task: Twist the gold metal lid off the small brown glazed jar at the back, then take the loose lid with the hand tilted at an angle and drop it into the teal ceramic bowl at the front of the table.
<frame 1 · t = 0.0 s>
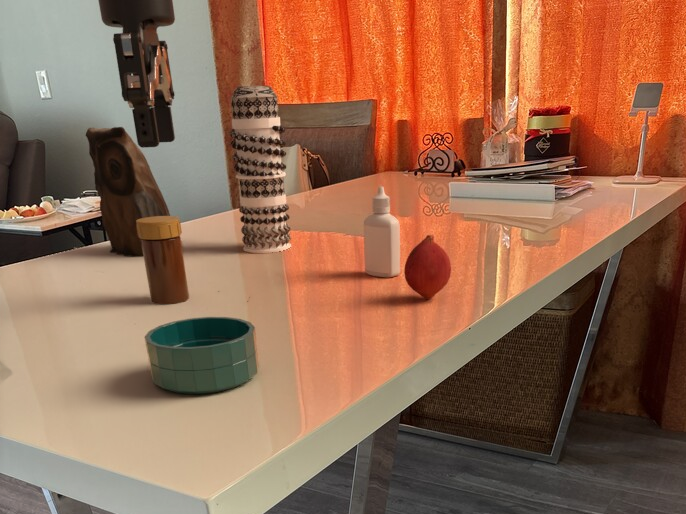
hand: (157, 144, 81), 19 cm above the table, tool pointing down, fingers open, 8 cm apart
eye dropper bottle: (382, 275, 105), on the table
bowl: (206, 377, 68), on the table
jar: (170, 299, 96), on the table
owl: (147, 250, 128), on the table
decorative candle: (267, 249, 126), on the table
onion: (427, 300, 91), on the table
lid: (158, 222, 91), point 10 cm above the table, screwed on, not yet turned
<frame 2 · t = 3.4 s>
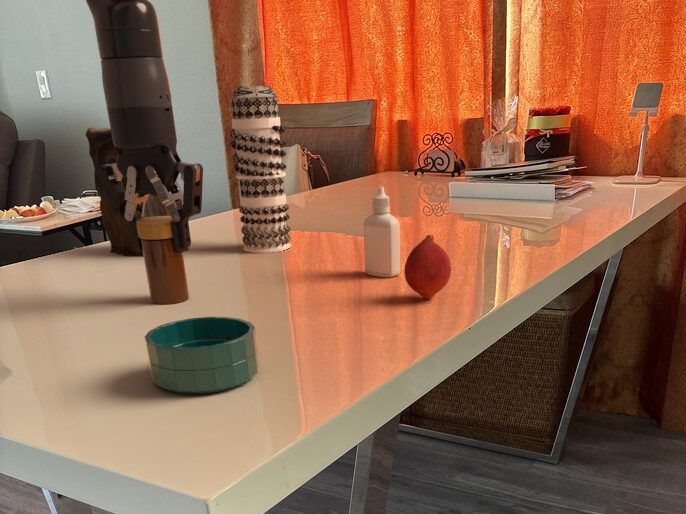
hand: (162, 250, 93), 6 cm above the table, tool pointing down, fingers closed on lid, 5 cm apart
lid: (158, 222, 91), point 10 cm above the table, screwed on, not yet turned, touching gripper
everything else where it was.
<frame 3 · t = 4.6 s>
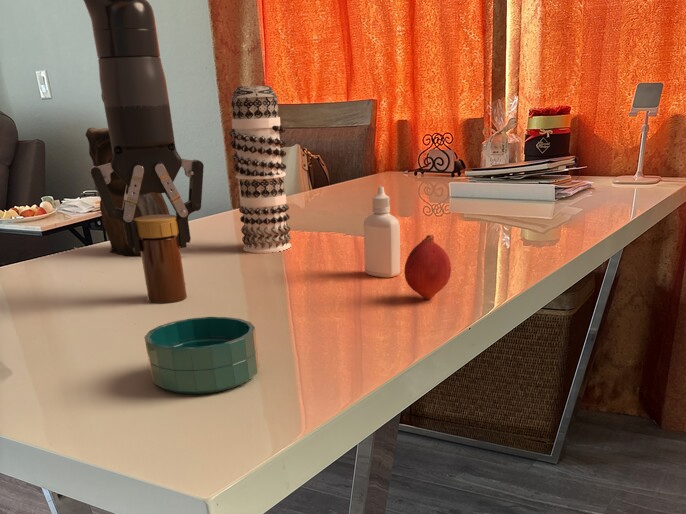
hand: (160, 248, 93), 7 cm above the table, tool pointing down, fingers closed on lid, 5 cm apart
lid: (155, 220, 91), point 10 cm above the table, turned 36° so far, risen 0.1 cm, still on its thread, touching gripper
everything else where it was.
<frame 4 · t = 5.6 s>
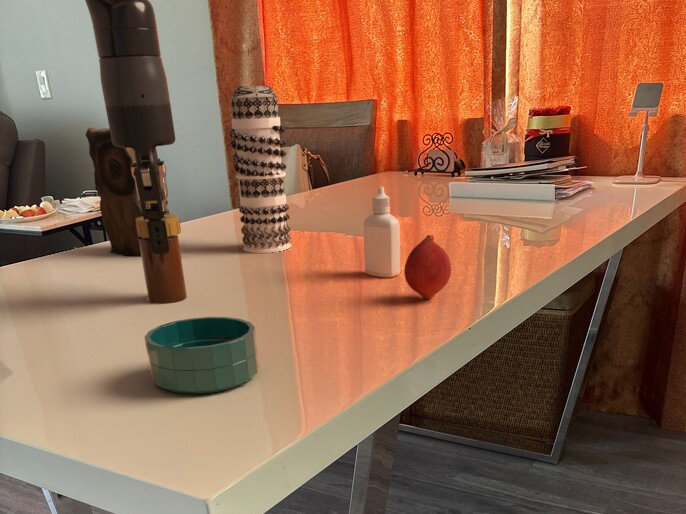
hand: (162, 248, 93), 7 cm above the table, tool pointing down, fingers closed on lid, 5 cm apart
jar: (167, 298, 96), on the table, touching gripper
lid: (157, 220, 91), point 10 cm above the table, off its thread, touching gripper
everything else where it was.
when the fingers open (6 cm above the table, at t = 6.0 s): lid stays where it is, resting on jar.
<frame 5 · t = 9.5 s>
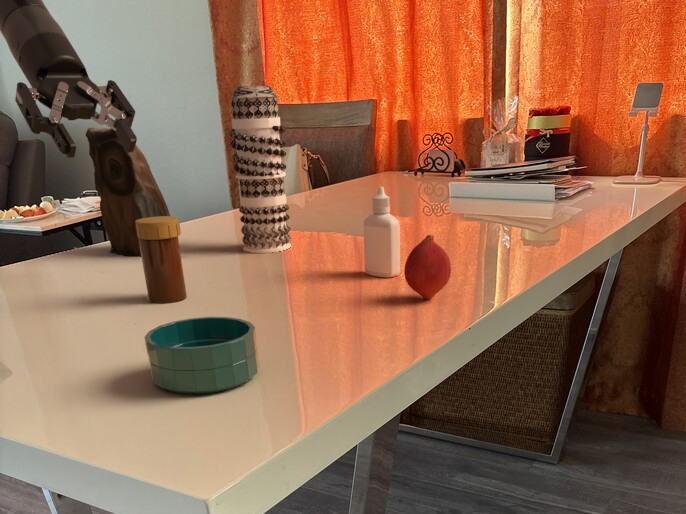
hand: (103, 150, 94), 18 cm above the table, tool tilted 45°, fingers open, 8 cm apart
jar: (168, 298, 96), on the table, touching lid
lid: (157, 222, 91), point 10 cm above the table, off its thread, touching jar
everything else where it was.
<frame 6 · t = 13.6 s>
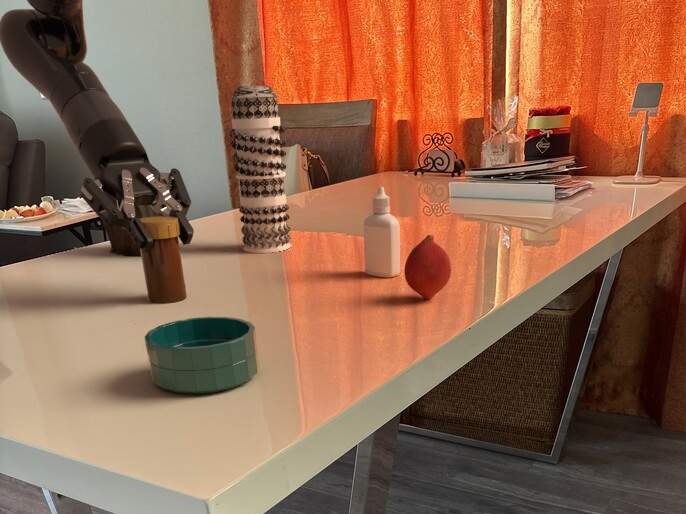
hand: (169, 243, 91), 7 cm above the table, tool tilted 45°, fingers closed on lid, 5 cm apart
lid: (156, 222, 91), point 10 cm above the table, off its thread, touching gripper, jar
everything else where it was.
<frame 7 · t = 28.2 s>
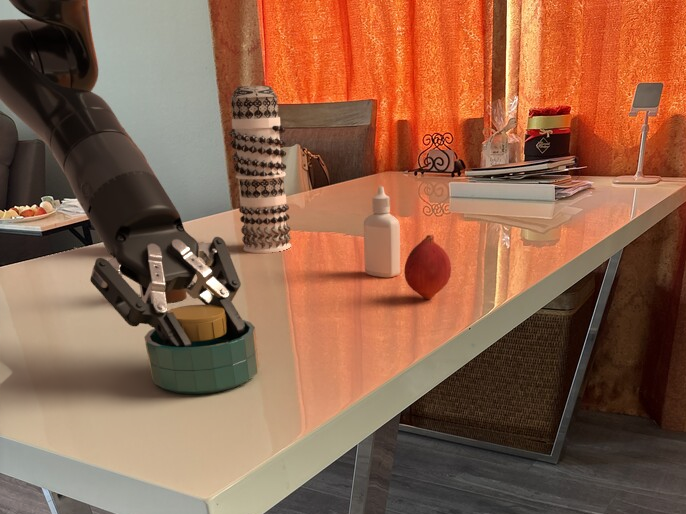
hand: (212, 345, 66), 4 cm above the table, tool tilted 45°, fingers closed on lid, 5 cm apart
jar: (168, 298, 96), on the table
lid: (195, 315, 66), point 6 cm above the table, off its thread, touching gripper
everything else where it was.
when the fingers open (5 cm above the table, at t = 34.5 s): lid drops 5 cm, resting on bowl.
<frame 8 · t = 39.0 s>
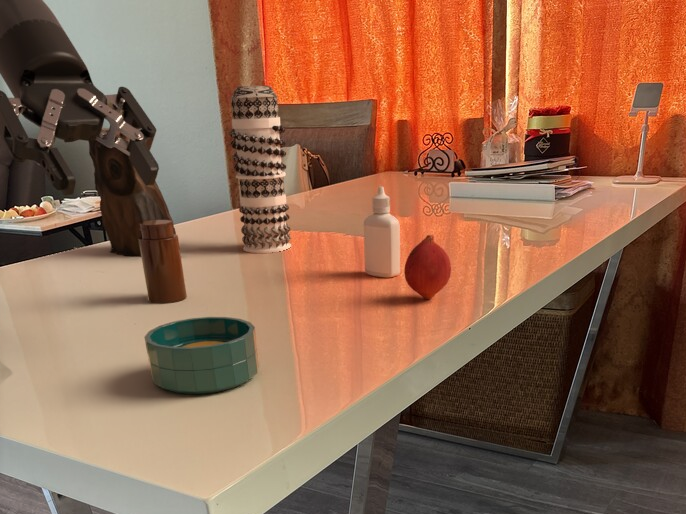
hand: (113, 184, 68), 17 cm above the table, tool tilted 45°, fingers open, 8 cm apart
lid: (204, 353, 68), point 2 cm above the table, off its thread, touching bowl
everything else where it was.
at the end: lid inside the target area in the bowl (0.7 cm from its centre), point 2.2 cm above the bowl's base; lid came off its thread; the gripper is holding nothing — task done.
